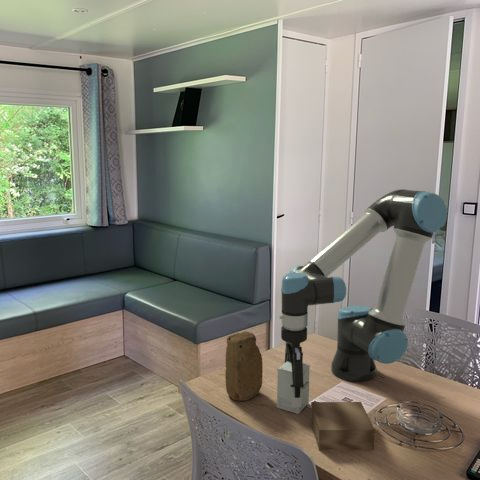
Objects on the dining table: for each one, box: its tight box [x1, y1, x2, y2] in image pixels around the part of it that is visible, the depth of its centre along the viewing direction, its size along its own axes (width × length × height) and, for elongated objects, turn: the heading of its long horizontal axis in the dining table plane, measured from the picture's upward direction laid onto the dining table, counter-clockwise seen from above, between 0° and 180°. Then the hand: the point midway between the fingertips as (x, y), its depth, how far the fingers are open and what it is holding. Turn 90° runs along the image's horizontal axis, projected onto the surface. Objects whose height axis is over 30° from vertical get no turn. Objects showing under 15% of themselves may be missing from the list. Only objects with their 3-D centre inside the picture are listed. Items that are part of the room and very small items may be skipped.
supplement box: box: [276, 361, 311, 415], centre depth 145 cm, size 7×7×13 cm
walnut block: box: [310, 401, 376, 451], centre depth 131 cm, size 14×14×6 cm
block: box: [224, 331, 264, 402], centre depth 151 cm, size 11×8×20 cm
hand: (293, 397), depth 146 cm, fingers closed on supplement box, 10 cm apart
